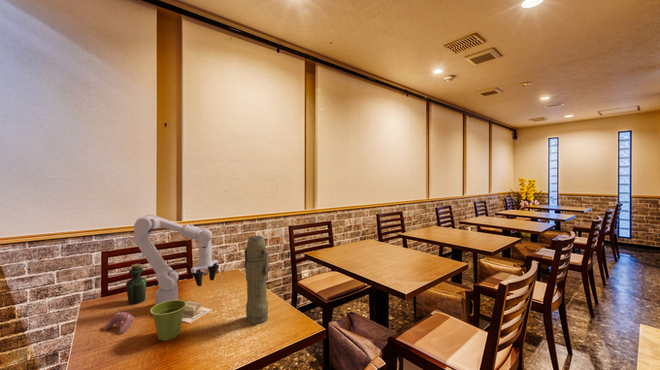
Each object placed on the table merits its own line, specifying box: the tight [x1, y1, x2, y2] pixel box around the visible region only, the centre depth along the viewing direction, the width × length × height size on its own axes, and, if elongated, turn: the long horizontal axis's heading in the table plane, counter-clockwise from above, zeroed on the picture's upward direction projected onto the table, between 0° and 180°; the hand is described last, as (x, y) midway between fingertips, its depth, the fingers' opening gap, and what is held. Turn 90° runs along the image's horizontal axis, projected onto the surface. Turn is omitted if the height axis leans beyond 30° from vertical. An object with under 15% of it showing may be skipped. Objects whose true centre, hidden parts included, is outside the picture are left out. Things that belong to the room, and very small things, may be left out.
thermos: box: [244, 235, 270, 326], centre depth 114 cm, size 9×12×35 cm
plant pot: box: [149, 299, 187, 342], centre depth 103 cm, size 12×12×11 cm
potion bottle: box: [125, 263, 147, 305], centre depth 131 cm, size 8×8×18 cm
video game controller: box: [104, 311, 135, 334], centre depth 108 cm, size 10×5×7 cm, turn 71°
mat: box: [182, 306, 213, 324], centre depth 119 cm, size 12×12×1 cm
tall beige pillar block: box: [183, 300, 202, 317], centre depth 119 cm, size 4×8×4 cm, turn 67°
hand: (205, 282), depth 130 cm, fingers open, 7 cm apart
